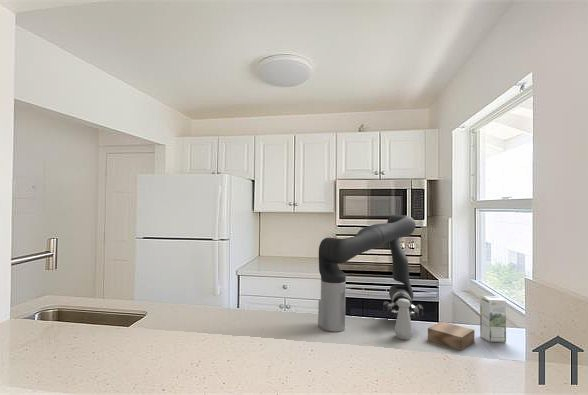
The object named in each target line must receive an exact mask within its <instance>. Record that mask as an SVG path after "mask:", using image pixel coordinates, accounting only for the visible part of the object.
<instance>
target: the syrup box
mask: <svg viewBox="0 0 588 395" xmlns="http://www.w3.org/2000/svg"><path fill="white" fill-rule="evenodd" d="M479 301H480V302H479V303H480V305H479V307H480V308H479V309H480V310H479V312H480V314H479V316H480V317H479V318H480V323H479V324H480V326H479V328H480V335H479V336H480V337H481V338H482V339H484V340H485V341H487V342H489V343H502V342H506V343H507V301H506V299H504V298H502V297H501V296H496V295H495V296H494V295H480V297H479Z"/></svg>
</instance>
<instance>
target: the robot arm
mask: <svg viewBox="0 0 588 395" xmlns="http://www.w3.org/2000/svg"><path fill="white" fill-rule="evenodd" d="M415 230H416V221H415V219H414V218H413V217H411V216H410V215H402V214H401V215H399V214H393V215H390V216H389V217H388V218H387V221H386V223H385V222H384V223H376V224H375V223H374V224H371V225H368V226H365V227H363V228H360V230H359V231H358V232H357V234H355V235H353V236H350V237H346V238H345V237H344V238H338V237H337V238H336V237H325V238H323V239H322V240H321V241H320V243H319V246H318V272H319V275H320V299H319V300H318V307H317V308H318V311H317V313H318V316H317V317H318V318H317V319H318V320H317V326H318V327H320V329H321V330H324V331H327V332H334V333H335V332H343V331H344V330H345V329H346V294H347V293H346V281H347V280H346V279H347V278H346V273H345V272H344V271H342V270H341V268H340V267H339V265H338V264H344V263H346V262H348V261H350V260H351V259H353V258H356V256H359V255H360V254H363V253H366V252H368V251H370V250H374V249H376V248H378V247H381V246H383V245H385V244H387V243H389V247H390V252H391V260H392V262H391V263H392V278H393V280H394V281H395V282H399V283H402V284H403V285H397V284H395V285H393V284H392V285H391V286H390V287H389V290H388V295H389V299H390V301H391V303H389V302H388V301H387V300H386V301H385V300H384V302H383V306H382V307H383V308H382V311H383V312H387V313H388V314H389V315H390V316H392V315H393V313H396V314H398V311H399V306H398V305H397V300H398V299H407V300H409V301H410V307H408V308H409V314H410V316H411V315H413V316H414V318H417V317H419V315H420V316H424V307H423V305H422V304H420V303H419V304H417V305H414V304H413V303H412V301H413V299H414V292H413V288H412V285H411V282H410V271H409V270H410V268H409V267H410V265H409V261H408V257H407V256H406V253H405V252H404V250H403V247H402V246H401V243H400V239H402V238H406V237H408V236H411V235H412V234H413V233H414V232H415Z"/></svg>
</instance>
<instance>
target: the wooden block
mask: <svg viewBox="0 0 588 395" xmlns="http://www.w3.org/2000/svg"><path fill="white" fill-rule="evenodd" d="M427 341H430V342H433V343H437V344H439V345H443V346H446V347H450V348H452V349H455V350H460V351H463V350H465V349H467V348H468V347H469V346H471V345H473V343H475V329H472V328H468V327H464V326H462V325H456V324H452V323H449V322H446V321H440V322H437V323H436V324H434V325H431V326H430V327H427Z"/></svg>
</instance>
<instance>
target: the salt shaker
mask: <svg viewBox="0 0 588 395" xmlns="http://www.w3.org/2000/svg"><path fill="white" fill-rule="evenodd" d="M397 305H398V306H399V311H398V313H397V315H396V322H395V326H394V332H395V335H396V337H397V338H398V339H400V340H406V341H407V340H410V339H411V337H412V335H413V328H412V320H411V314H409V308H408V307H410V301H409V300H407V299H398V300H397Z"/></svg>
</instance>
